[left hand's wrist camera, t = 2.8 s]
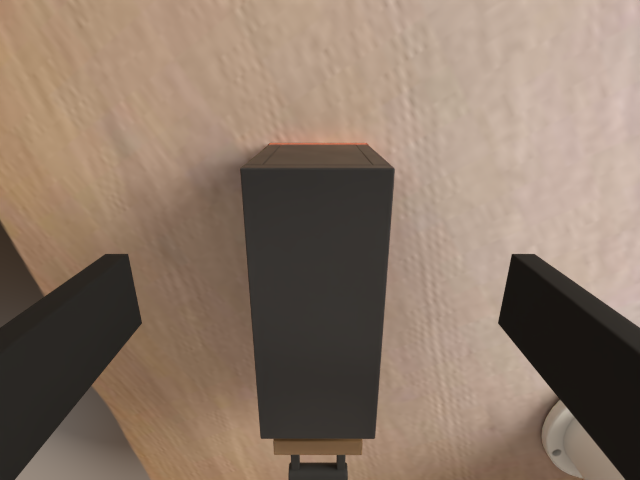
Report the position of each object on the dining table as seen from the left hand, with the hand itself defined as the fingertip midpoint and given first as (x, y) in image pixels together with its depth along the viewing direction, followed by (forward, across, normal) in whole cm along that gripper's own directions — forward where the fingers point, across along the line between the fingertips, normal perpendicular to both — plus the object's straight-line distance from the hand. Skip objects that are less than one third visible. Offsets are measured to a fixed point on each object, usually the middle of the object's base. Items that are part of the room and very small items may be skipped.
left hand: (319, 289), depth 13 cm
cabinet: (+16, 0, -5) cm, 16 cm away
